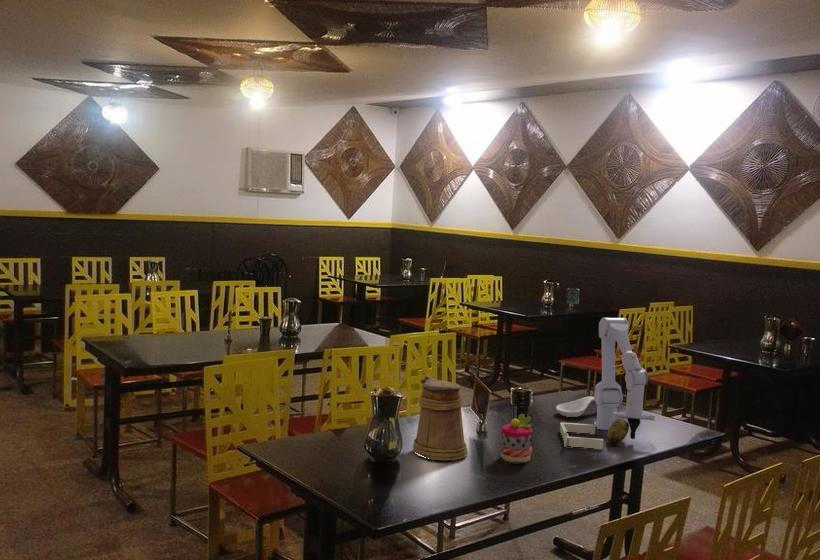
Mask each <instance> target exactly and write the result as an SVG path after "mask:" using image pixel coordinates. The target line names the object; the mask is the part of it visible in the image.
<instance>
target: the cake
mask: <svg viewBox="0 0 820 560" xmlns="http://www.w3.org/2000/svg"><path fill="white" fill-rule="evenodd" d="M531 420H532V419H531V416H526V417H525V414H524V413H520V414H519V415H518V417H514V418H513V419H511V421H510V423H507V424H504V425H503V426H502V427H501V446H500V447H499V449H500V450H501V451H500V452H501V453H500V458H501V457H502V458H503V459H505V460H507V461H511V462H527V461H529V460H530V461H531V454H532V453H533V448H532V447H533V446H532V443H533V442H532V441H533V439H532V437H533V429H532V425H531V424H529V423H530V422H531Z"/></svg>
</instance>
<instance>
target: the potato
mask: <svg viewBox="0 0 820 560" xmlns="http://www.w3.org/2000/svg"><path fill="white" fill-rule="evenodd" d="M629 431H630V426H629V423H628V421H626V419H625V420H624V419H622V418H617V419H616V420H615V421H614V422H613V423H612V424H611V426H610V428H609V430H607V435H606V441H607V443H608V444H610V445H612V446H619V445H621V444H622V442H623V441H624V440H625V438H626V436H627V435H628V433H629Z"/></svg>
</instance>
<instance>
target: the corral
mask: <svg viewBox="0 0 820 560" xmlns="http://www.w3.org/2000/svg"><path fill="white" fill-rule="evenodd" d="M565 430H567V432H577V433H576V434H580V433H590V434H589V435H596V426H595V424H591V423H576V422H575V423H573V422H560V423H559V433H561V434H560V436H561V435H562V436H561V438H563V439H562V442H563V441H564V440H565ZM566 446H571V447H570V448H573V447H584V448H583V449H587V448H594V449H593V450H602V449H603V450H604V439H603V438H592V437H580V436H579V437H577V436H569V433H567V444H566Z"/></svg>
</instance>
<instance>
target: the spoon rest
mask: <svg viewBox="0 0 820 560" xmlns="http://www.w3.org/2000/svg"><path fill="white" fill-rule="evenodd" d="M593 401H594V402H595V400H594V396H585V397H581V398H579V399H576V400H572V401H568V402H564V403H560V404H557V405H556V406H555V409H556V411H557V413H559V414H560V415H561V416H562V417H565V416H566V417H565V418H568V417H577V418H579V417H580V416H581V415H583V414H584V413H585V412H586V410H587V409H588V406H589V405H590V403H592V402H593ZM597 408H598V405H597V404H596V409H597ZM578 416H579V417H578Z"/></svg>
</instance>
